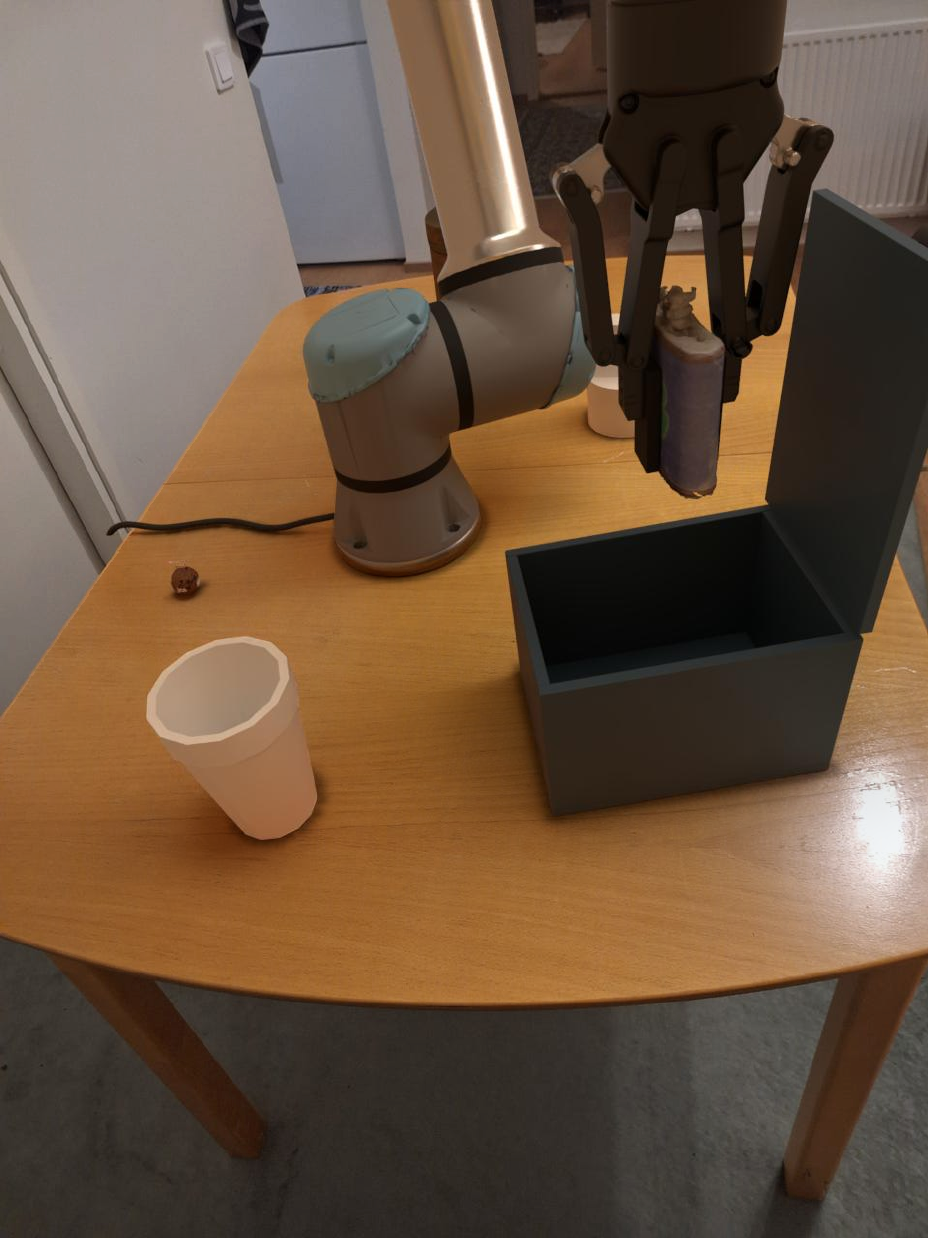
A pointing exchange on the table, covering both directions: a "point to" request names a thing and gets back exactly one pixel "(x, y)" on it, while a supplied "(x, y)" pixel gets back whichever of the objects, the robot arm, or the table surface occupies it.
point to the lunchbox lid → (853, 401)
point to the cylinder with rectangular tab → (607, 401)
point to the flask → (687, 394)
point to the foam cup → (238, 732)
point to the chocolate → (184, 578)
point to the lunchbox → (678, 659)
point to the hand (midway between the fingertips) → (675, 455)
